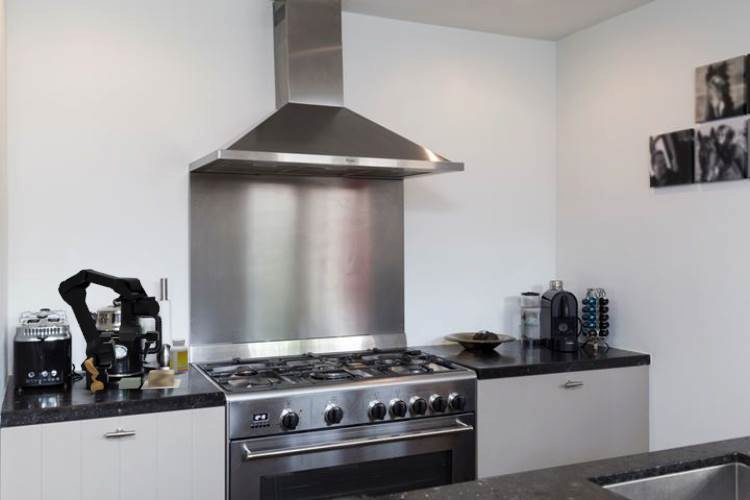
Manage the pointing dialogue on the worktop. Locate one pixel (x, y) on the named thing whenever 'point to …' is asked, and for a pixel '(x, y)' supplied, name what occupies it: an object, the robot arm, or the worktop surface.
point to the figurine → (93, 376)
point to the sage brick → (129, 383)
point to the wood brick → (161, 378)
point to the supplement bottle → (179, 356)
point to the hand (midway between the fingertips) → (129, 362)
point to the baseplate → (175, 385)
